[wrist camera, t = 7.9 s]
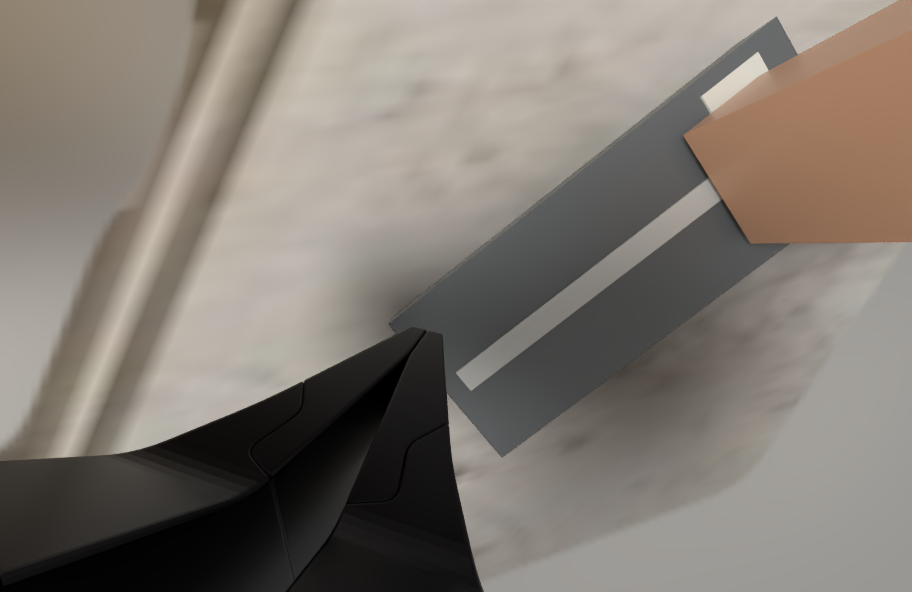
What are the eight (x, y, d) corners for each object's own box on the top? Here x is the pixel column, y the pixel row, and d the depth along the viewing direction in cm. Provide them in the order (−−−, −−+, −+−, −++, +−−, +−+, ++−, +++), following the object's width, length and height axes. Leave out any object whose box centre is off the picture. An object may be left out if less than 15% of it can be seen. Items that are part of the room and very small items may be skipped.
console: (495, 436, 19) (502, 459, 17) (394, 315, 18) (388, 324, 16) (821, 191, 18) (871, 184, 16) (737, 43, 17) (779, 14, 15)
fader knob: (750, 243, 16) (1279, 238, 6) (683, 135, 15) (1164, -88, 5) (823, 189, 15) (1504, 85, 6) (759, 76, 15) (1423, -283, 5)
